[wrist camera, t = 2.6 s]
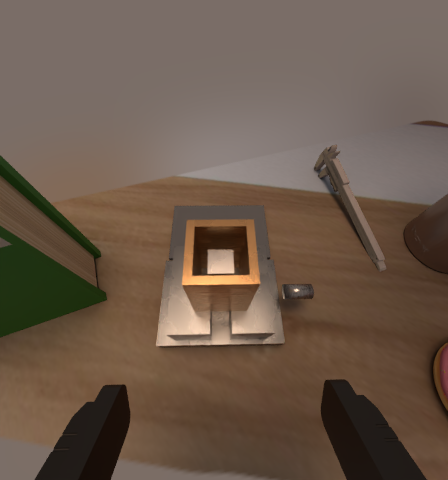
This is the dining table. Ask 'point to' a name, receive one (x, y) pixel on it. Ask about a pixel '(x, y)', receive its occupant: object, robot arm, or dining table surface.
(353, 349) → the dining table surface
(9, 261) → the hardback book
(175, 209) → the slate pad
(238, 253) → the copper collar
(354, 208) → the caliper
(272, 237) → the dining table surface
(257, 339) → the grey slotted block
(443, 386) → the doughnut
